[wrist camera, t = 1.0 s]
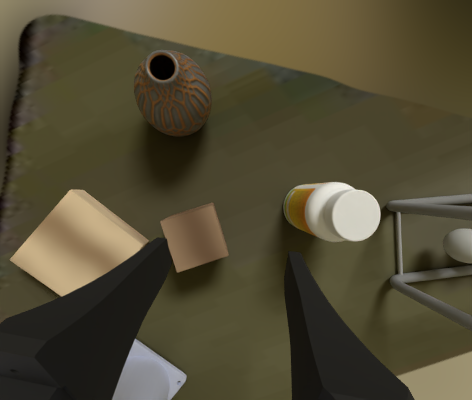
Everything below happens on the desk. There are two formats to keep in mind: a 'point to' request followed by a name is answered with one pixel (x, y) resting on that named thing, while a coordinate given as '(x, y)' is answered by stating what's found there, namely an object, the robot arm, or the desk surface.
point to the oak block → (77, 244)
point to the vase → (172, 93)
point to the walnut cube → (194, 237)
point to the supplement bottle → (332, 211)
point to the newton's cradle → (455, 244)
